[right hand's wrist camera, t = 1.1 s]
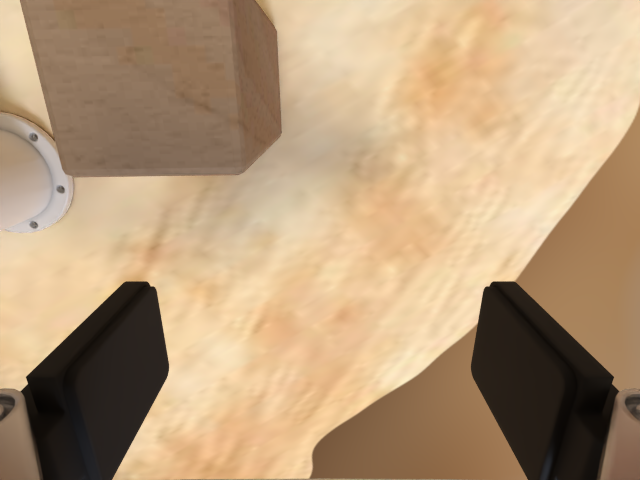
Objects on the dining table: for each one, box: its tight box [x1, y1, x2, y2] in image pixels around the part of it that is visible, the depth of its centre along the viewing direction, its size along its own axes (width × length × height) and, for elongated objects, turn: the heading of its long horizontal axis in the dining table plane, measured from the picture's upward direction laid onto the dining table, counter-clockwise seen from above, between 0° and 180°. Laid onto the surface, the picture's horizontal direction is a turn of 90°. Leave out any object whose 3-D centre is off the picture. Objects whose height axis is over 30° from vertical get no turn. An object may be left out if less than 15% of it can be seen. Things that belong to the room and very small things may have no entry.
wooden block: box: [20, 0, 282, 177], centre depth 28 cm, size 10×10×20 cm
